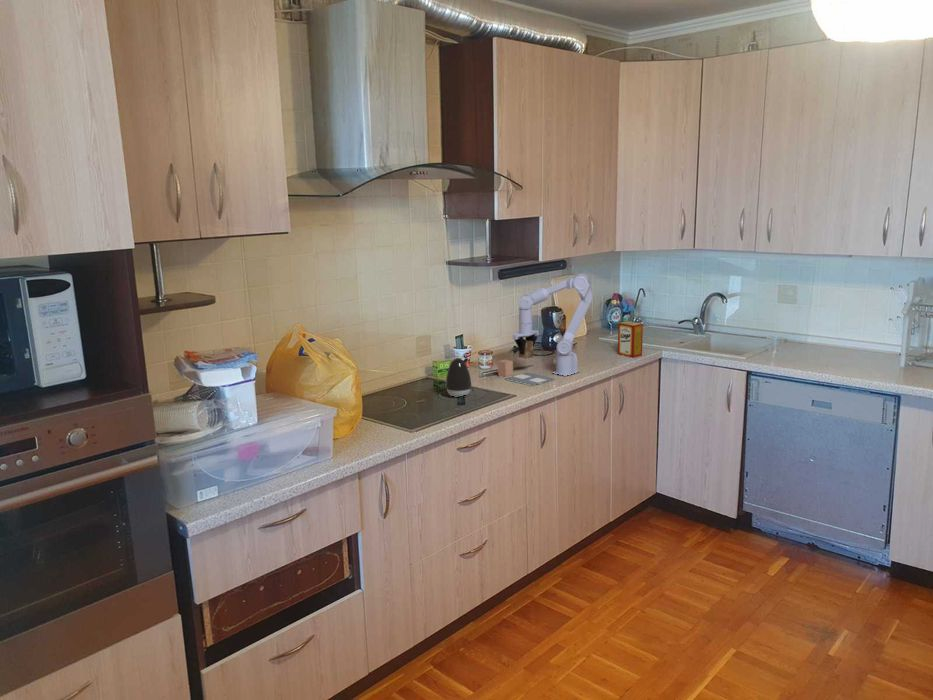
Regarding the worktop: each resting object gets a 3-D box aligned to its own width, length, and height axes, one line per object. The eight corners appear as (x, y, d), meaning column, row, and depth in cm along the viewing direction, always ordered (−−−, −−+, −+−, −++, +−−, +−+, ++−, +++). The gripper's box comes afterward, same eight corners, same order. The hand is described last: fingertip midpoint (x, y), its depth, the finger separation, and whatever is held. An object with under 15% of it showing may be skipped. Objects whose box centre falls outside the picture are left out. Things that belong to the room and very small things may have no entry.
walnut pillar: (525, 355, 315) (525, 340, 314) (533, 356, 312) (532, 341, 311) (518, 357, 313) (518, 341, 311) (526, 358, 309) (525, 342, 308)
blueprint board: (527, 373, 312) (527, 372, 312) (554, 379, 300) (554, 378, 300) (504, 379, 303) (504, 378, 303) (532, 386, 291) (532, 384, 291)
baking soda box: (641, 355, 341) (642, 323, 337) (632, 357, 337) (633, 324, 334) (627, 352, 348) (627, 320, 345) (617, 354, 345) (618, 322, 341)
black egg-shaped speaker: (477, 395, 280) (476, 357, 277) (458, 401, 273) (457, 362, 270) (459, 390, 287) (458, 354, 284) (440, 396, 280) (439, 358, 277)
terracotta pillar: (505, 374, 311) (505, 359, 310) (512, 376, 308) (512, 360, 306) (498, 376, 308) (498, 361, 307) (505, 378, 305) (505, 362, 303)
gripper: (530, 319, 317) (530, 349, 320) (507, 324, 307) (507, 354, 310) (542, 321, 311) (542, 351, 314) (519, 325, 302) (519, 356, 305)
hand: (525, 353), depth 312 cm, fingers closed on walnut pillar, 4 cm apart
